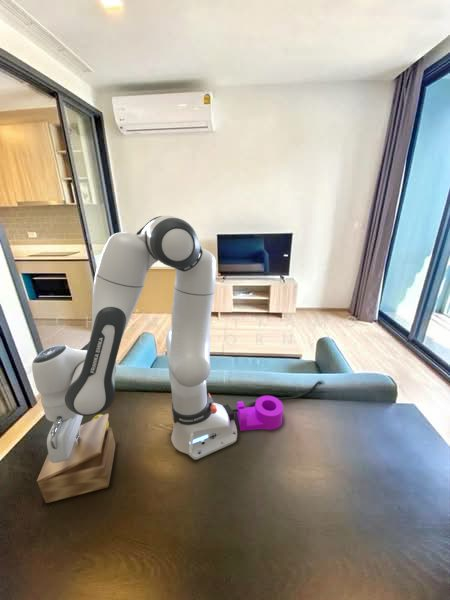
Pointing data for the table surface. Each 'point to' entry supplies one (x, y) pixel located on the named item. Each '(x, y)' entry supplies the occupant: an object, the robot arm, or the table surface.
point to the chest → (82, 474)
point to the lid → (79, 448)
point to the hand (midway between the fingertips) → (75, 442)
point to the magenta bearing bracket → (261, 414)
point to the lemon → (99, 416)
